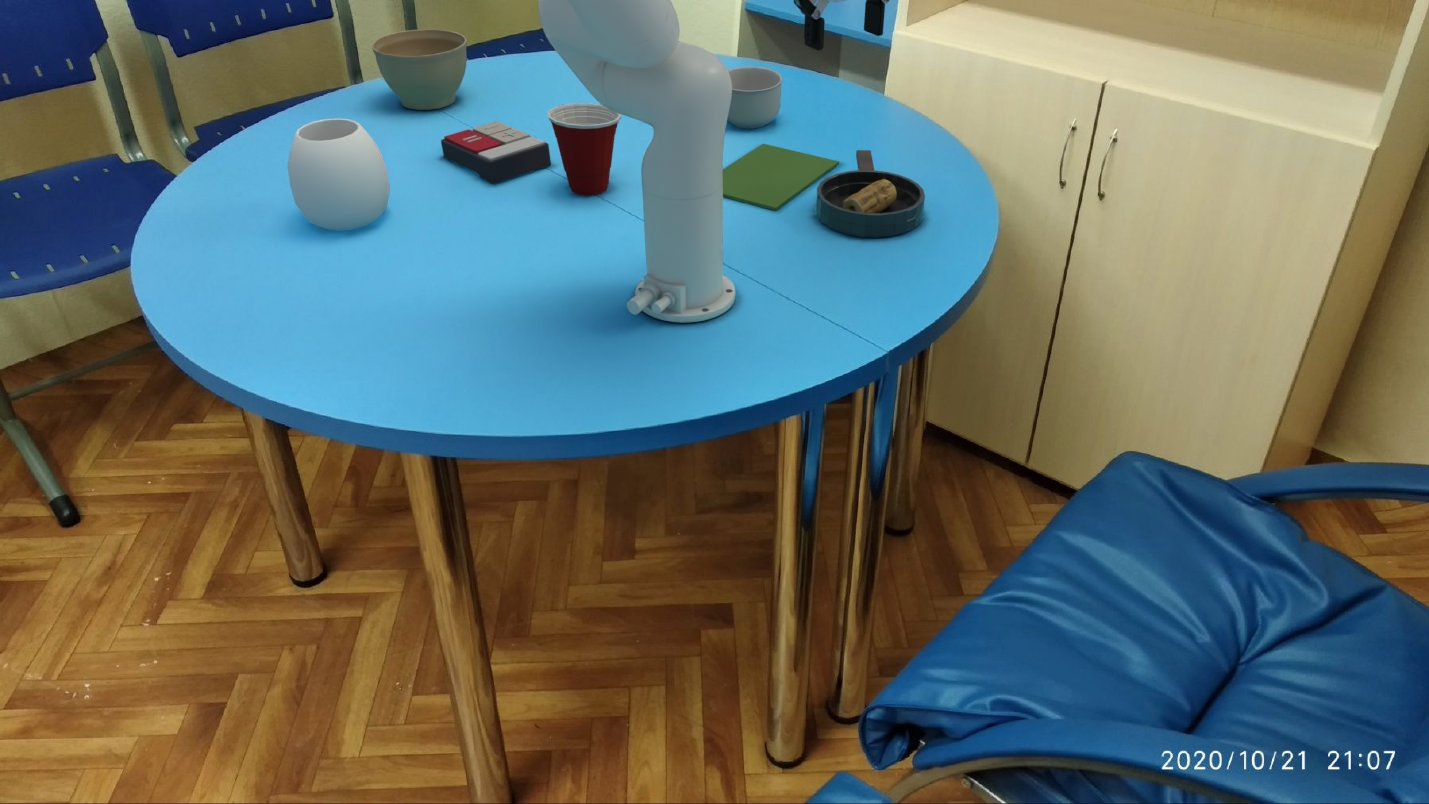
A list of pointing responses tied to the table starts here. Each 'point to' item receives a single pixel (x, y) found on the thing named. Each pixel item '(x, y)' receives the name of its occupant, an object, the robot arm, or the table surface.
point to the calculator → (496, 151)
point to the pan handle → (864, 160)
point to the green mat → (772, 176)
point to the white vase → (337, 174)
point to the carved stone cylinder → (872, 198)
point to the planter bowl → (422, 66)
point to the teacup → (754, 96)
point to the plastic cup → (585, 144)
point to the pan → (884, 224)
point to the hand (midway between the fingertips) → (843, 40)
